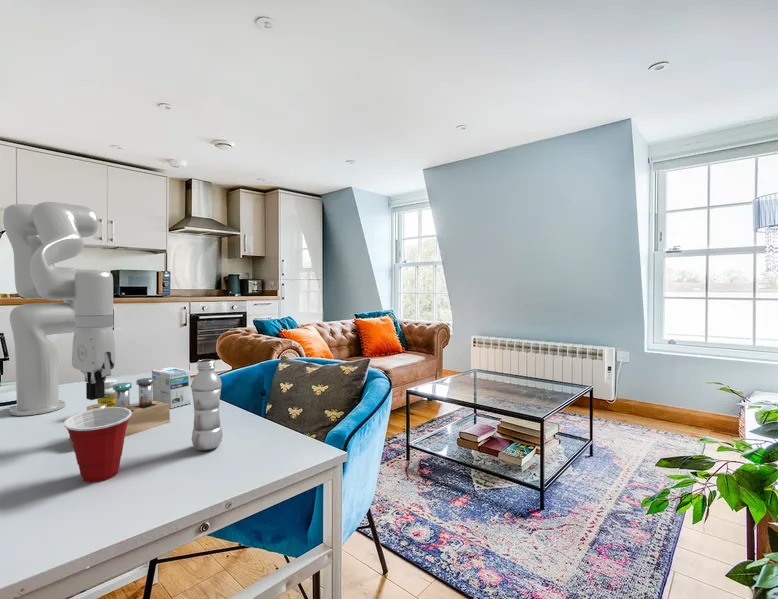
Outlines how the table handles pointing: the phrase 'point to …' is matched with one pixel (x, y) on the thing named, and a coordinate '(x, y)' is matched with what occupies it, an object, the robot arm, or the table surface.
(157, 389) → the light bulb box
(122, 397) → the plug teal
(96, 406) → the plug brass
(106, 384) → the supplement bottle
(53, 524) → the table surface
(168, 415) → the oak block
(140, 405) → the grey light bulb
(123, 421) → the plastic cup
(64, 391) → the table surface
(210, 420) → the plastic bottle
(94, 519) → the table surface
